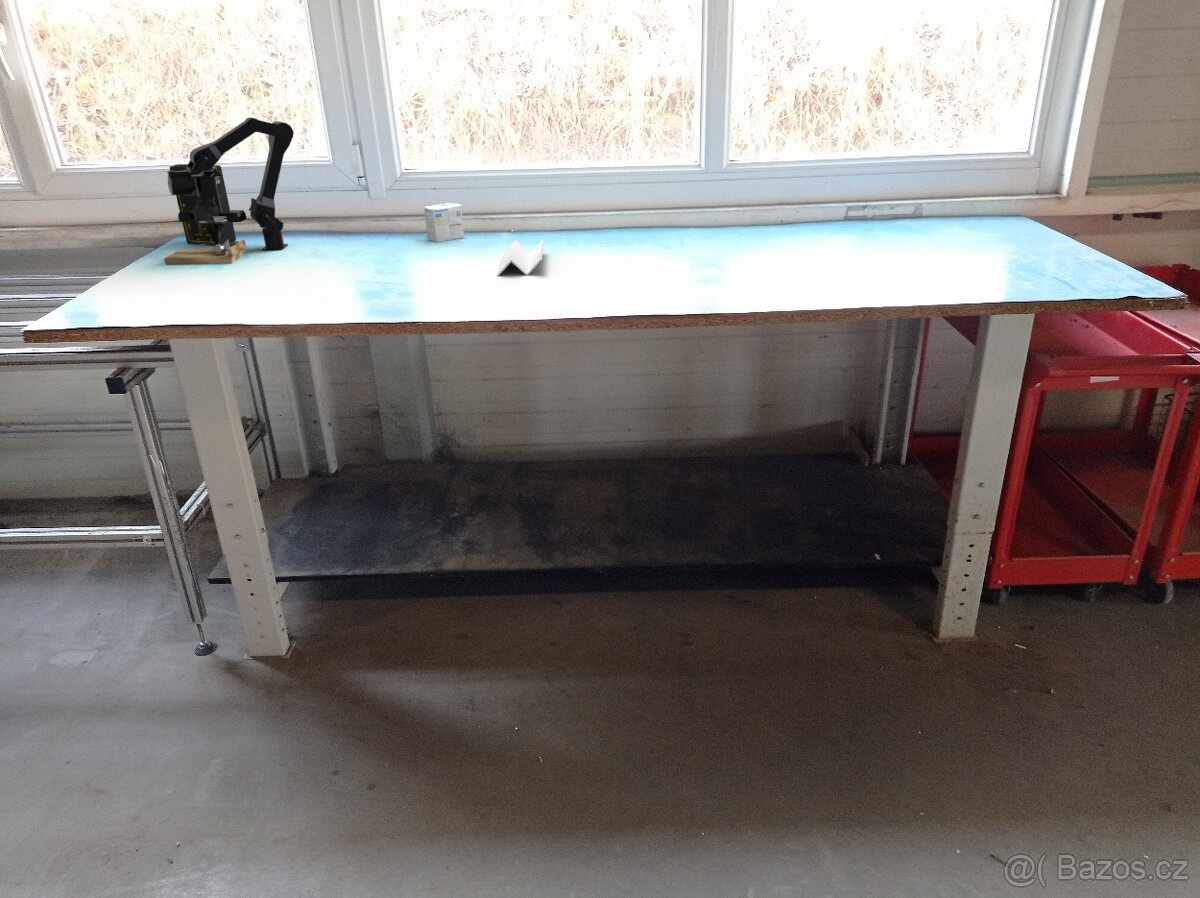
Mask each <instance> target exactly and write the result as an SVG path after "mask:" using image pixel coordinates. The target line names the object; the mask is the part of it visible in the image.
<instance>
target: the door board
mask: <svg viewBox="0 0 1200 898" xmlns="http://www.w3.org/2000/svg"><path fill="white" fill-rule="evenodd" d="M229 245H230V248H228V249H227V251H226V254H224V255H215V254H214V250H213V247H211V248H210V247H209V248H207V247H205V248H181V249H179V250H177V251H174V252H173V253H171V254H169V255H167V256H166V257H164V259H163V260H164V263H165V265H166V266H177V265H179V266H182V265H184V264H185V265H217V263H224V264H233V263H235V262H237V261H238V260H239V259H241V258H242V257H244V256H245V255H246V254H247V252H246V248H247V244H246V240H245V239H241V240H239V241H238V240H236V241H233V242H231V243H229ZM244 254H245V255H244ZM241 256H242V257H241ZM240 257H241V258H240ZM237 259H238V260H237ZM234 261H235V262H234ZM212 263H213V264H212Z"/></svg>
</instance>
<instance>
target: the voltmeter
mask: <svg viewBox="0 0 1200 898" xmlns="http://www.w3.org/2000/svg"><path fill="white" fill-rule="evenodd" d="M187 165H188V163H187V164H186V163H185V164H184V163H183V164H182V163H178V164H174V165H170V166H169V171H185V169H186V167H187ZM213 168H216V169H217V171H218V172H220V173H221V174H222V176H219V177H216V183H217V188H218V194H220V196H221V198H219V200H220V205H221V208H223V212H222V213H227V212H229V211H231V208H230V207H231V206H230V204H229V203H230V202H229V197H228V194H227V190H226V184H225V178H224V175H223V174H224V173H223V169H222V166H221V165H219V164H215V165H214V166H213V167H212V168H211V169H209V170H203V171H211V170H212V169H213ZM199 174H201V173H199ZM199 174H197V175H199ZM194 182H195V190H194V191H193V192H192V194H182V195H175V197H176V200H177V201H176V202H177V206H178V212H181V211H183V210H193V209H194V207H195V206H196V205H197V197H198V192H197V186H196V181H195V178H194ZM212 220H214V219H212ZM181 223H182V228H183V232H184V236H185V239H186V243H187V244H189V245H200V244H206V245H205V246H214V245H216V244H215V242H214V240H213V239H212V237H211V235H210V233H209V232H208V230H207V229H206V228H205V227H204V226H203V225H199V223H200V222H197V221H196V220H195V219H191V220H190V221H189V222H181ZM221 239H228V240H229V244H230V243H231V242H233V241H237V237H236V232H235V227H234V222H229V221H228V222H226V223H225V224H224V227H223V229H222V233H221V237H220V240H221Z"/></svg>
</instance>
